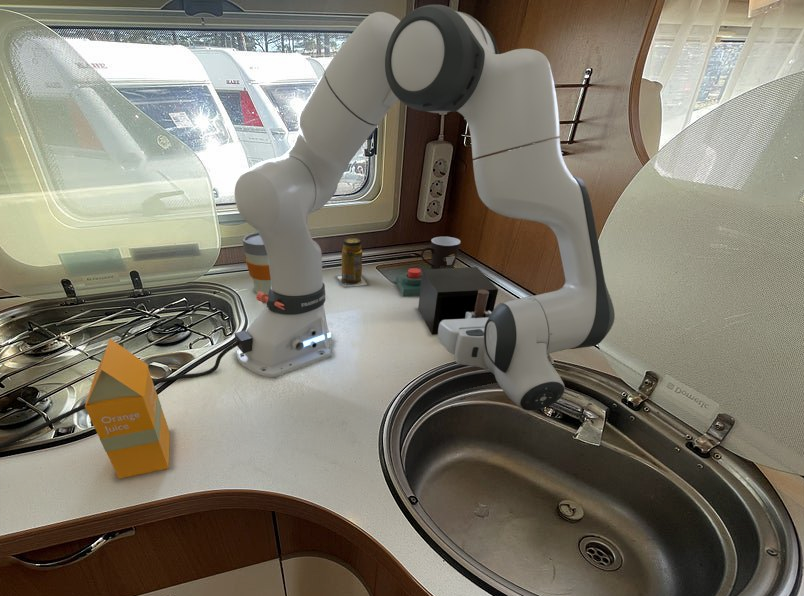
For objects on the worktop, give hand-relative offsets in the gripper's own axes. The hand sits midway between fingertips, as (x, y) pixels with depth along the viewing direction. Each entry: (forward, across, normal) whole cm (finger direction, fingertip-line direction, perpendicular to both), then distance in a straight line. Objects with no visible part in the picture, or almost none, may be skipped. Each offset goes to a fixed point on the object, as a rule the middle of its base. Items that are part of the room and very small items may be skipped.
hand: (476, 314), depth 91 cm
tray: (+6, 0, +7) cm, 9 cm away
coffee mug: (+45, -5, +9) cm, 47 cm away
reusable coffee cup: (+39, +47, +9) cm, 61 cm away
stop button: (+34, +5, +5) cm, 35 cm away
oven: (+14, 0, +9) cm, 16 cm away
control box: (+34, +5, +9) cm, 36 cm away
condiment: (+42, +22, +9) cm, 48 cm away
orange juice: (-27, +65, +9) cm, 71 cm away
